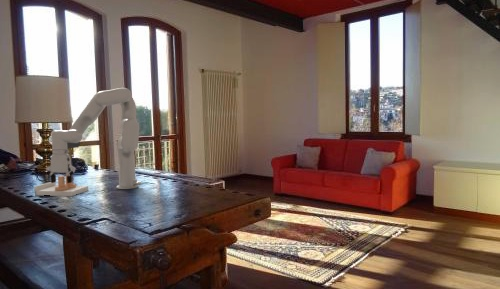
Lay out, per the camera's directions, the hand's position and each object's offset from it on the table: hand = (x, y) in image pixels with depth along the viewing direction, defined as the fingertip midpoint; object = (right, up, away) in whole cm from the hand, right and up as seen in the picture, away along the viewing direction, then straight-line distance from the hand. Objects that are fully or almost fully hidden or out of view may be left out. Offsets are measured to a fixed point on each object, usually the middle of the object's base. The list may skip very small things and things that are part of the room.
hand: (61, 182), depth 205 cm
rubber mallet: (-13, -4, +37) cm, 39 cm away
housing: (-2, -6, +4) cm, 8 cm away
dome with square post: (0, -6, +1) cm, 6 cm away
